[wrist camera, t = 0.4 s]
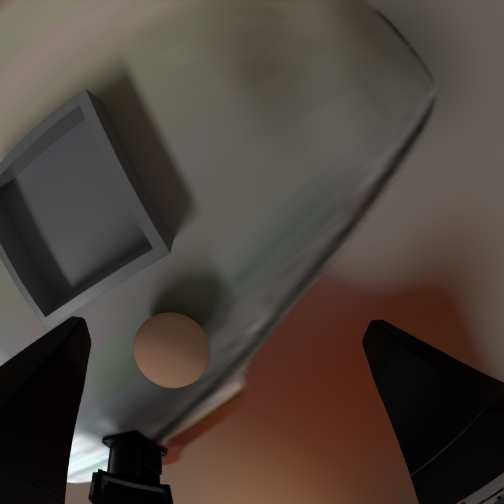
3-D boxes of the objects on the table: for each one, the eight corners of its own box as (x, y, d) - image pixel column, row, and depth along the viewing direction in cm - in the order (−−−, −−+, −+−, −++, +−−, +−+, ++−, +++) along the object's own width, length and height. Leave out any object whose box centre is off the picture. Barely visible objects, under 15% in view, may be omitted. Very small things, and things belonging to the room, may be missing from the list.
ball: (164, 365, 23) (162, 412, 18) (125, 318, 21) (110, 361, 15) (219, 339, 23) (229, 384, 18) (183, 286, 21) (182, 326, 16)
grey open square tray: (61, 309, 19) (46, 329, 16) (-4, 190, 15) (-27, 195, 12) (173, 239, 20) (170, 253, 17) (101, 100, 16) (85, 88, 12)
